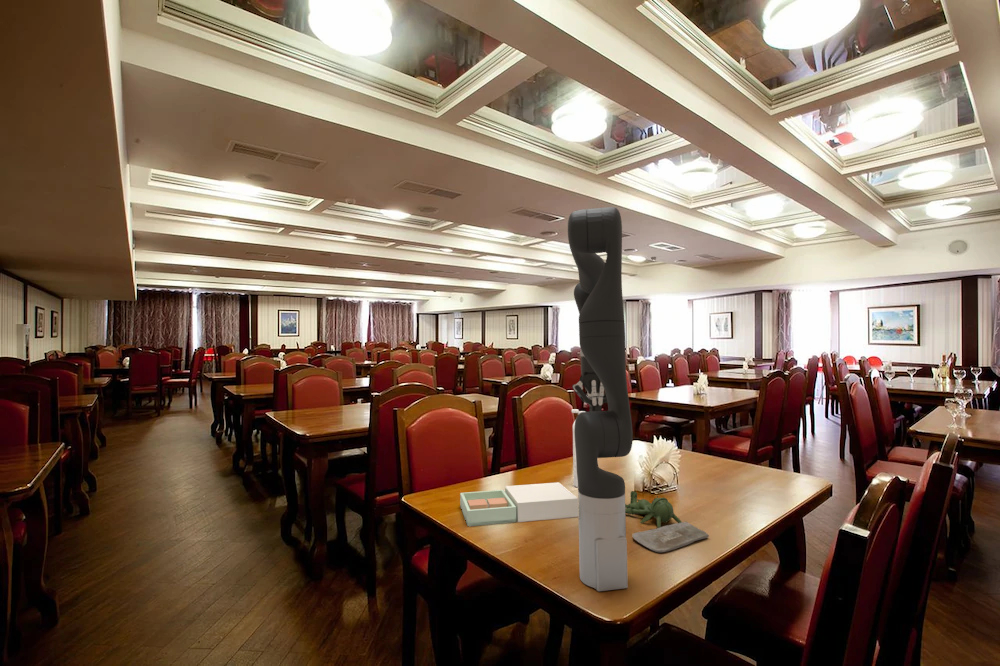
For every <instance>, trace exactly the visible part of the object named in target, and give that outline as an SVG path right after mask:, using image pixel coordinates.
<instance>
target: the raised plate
mask: <svg viewBox="0 0 1000 666" xmlns="http://www.w3.org/2000/svg"><path fill="white" fill-rule="evenodd" d="M504 491H505V493H506V494H507V495H508V497H509V498H510V499H511V501H512V502H513V504H514V505H515V506H516V522H517V523H522V522H523V523H524V522H534V521H544V520H545V521H546V520H548V521H549V520H557V519H568V518H579V513H578V496H576V495H575V494H574V493H572V492H571V491H570V490H569V489H567V487H565V486H564V485H563V484H561V482H558V481H557V482H546V483H544V482H543V483H531V484H518V485H515V484H514V485H504Z"/></svg>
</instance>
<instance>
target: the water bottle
mask: <svg viewBox="0 0 1000 666" xmlns="http://www.w3.org/2000/svg"><path fill="white" fill-rule="evenodd" d="M581 412H586V411H585V410H579V409H576V408H574V409H571V413H572V414H580V413H581ZM575 421H576V419H575V420H574V422H573V423H572V454H573V455H572V461H573V462H572V464H573V465H572V466H573V467H572V471H573V472H572V473H573V476H572V477H573V480H572V481H573V482H572V483H573V487H575V488H577V489H578V478H577V463H576V447H575Z"/></svg>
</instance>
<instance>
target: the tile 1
mask: <svg viewBox="0 0 1000 666" xmlns="http://www.w3.org/2000/svg"><path fill="white" fill-rule="evenodd" d="M467 503H468V506H469V508H470V510H473V509H486V508H488V504H487V502H486V500H485V499H476V500H467Z"/></svg>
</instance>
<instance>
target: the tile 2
mask: <svg viewBox="0 0 1000 666" xmlns="http://www.w3.org/2000/svg"><path fill="white" fill-rule="evenodd" d="M487 504H488V508H498V507H508V503H507V501H506V500H505V498H491V499H487Z"/></svg>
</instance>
